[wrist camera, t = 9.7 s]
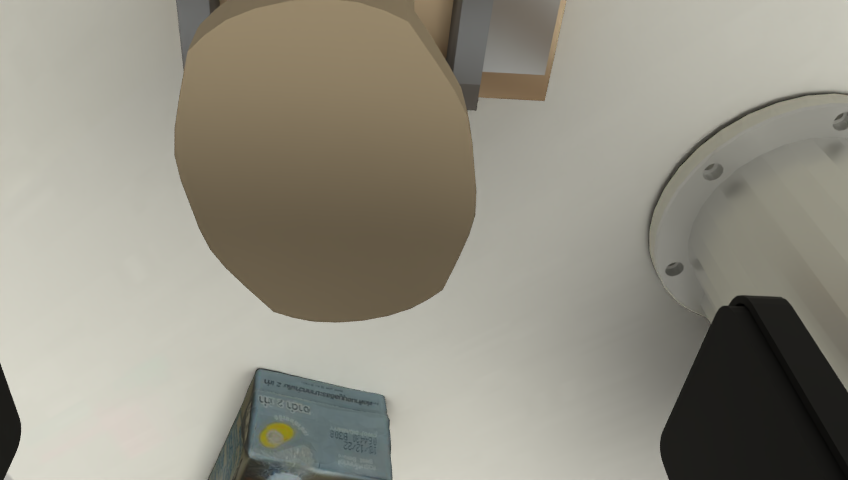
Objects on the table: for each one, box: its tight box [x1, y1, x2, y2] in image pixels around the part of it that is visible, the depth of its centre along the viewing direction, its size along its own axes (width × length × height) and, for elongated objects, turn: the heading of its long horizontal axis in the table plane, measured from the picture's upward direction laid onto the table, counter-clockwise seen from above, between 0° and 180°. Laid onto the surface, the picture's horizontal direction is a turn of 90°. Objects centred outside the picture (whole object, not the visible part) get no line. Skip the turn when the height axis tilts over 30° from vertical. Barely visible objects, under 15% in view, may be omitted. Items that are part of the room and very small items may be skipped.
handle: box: [175, 0, 476, 322], centre depth 18 cm, size 5×6×15 cm
